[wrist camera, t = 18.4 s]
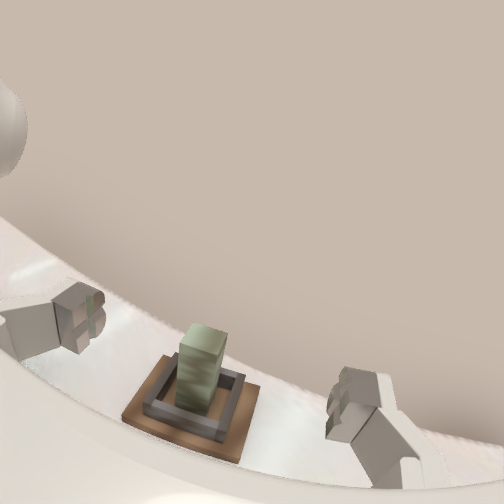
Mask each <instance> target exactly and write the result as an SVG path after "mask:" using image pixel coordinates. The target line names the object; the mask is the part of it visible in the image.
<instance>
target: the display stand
mask: <svg viewBox="0 0 504 504" xmlns="http://www.w3.org/2000/svg"><path fill="white" fill-rule="evenodd" d="M178 356H179V353H177V352H175V353H174V355H173V356H172V358H171V357H169V356H166V355H163V356H162V357H161V359H160V360H159V362H158V363H157V364H156V366H155V367H154V369H153V370H152V371H151V373H150V374H149V376H148V377H147V379H146V380H145V381H144V383H143V384H142V386H141V387H140V389H139V390H138V392H137V393H136V394H135V396H134V397H133V399H132V400H131V402H130V403H129V404H128V406H127V407H126V409H125V410H124V412H123V413H122V415H121V416H122V421H123V422H125V423H127V424H130V425H132V426H134V427H136V428H138V429H141V430H143V431H145V432H148V433H150V434H152V435H155V436H157V437H160V438H162V439H165V440H167V441H170V442H172V443H175V444H178V445H180V446H183V447H186V448H189V449H191V450H194V451H197V452H200V453H203V454H206V455H209V456H212V457H216V458H219V459H222V460H226V461H229V462H233V463H236V464H238V462H239V460H240V457H241V453H242V450H243V447H244V443H245V440H246V436H247V433H248V429H249V426H250V422H251V419H252V415H253V412H254V408H255V404H256V401H257V397H258V394H259V390H260V386H258V385H255V384H251V383H248V382H244V380H245V377H246V375H244V374H241V373H238V372H234V371H231V370H228V369H224V368H221V369H220V374H219V378H218V383H217V388H216V393H215V397H214V399H213V402H212V404H211V407H210V409H209V411H208V414H207V416H206V417H203V416H200V415H197V414H194V413H191V412H188V411H186V410H183V409H180V408H177V407H175V396H176V381H177V368H178Z"/></svg>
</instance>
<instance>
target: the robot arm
mask: <svg viewBox="0 0 504 504" xmlns="http://www.w3.org/2000/svg"><path fill="white" fill-rule="evenodd" d="M26 139H27V117H26V113H25V110H24V107H23V105H22V103H21V101H20V100H19V98H18V97H17V96H16V95H15V94H14V93H13V92H12V91H11V90H10V89H9V88H8V87H7V86H6V85H5V84H4V82H3V81H2V79H1V78H0V178H1V177H4V176H7V175H9V174H10V173H11V171H12V170H13V169H14V168H15V166H16V165H17V163H18V161H19V160H20V157H21V155H22V153H23V150H24V147H25V144H26ZM104 303H105V296H104V293H103V292H102V291H100V290H98V289H96V288H93V287H91V286H89V285H87V284H84V283H82V282H79V281H77V280H75V279H73V278H66V279H64V280H63V281H61V282H60V283H58V284H57V285H55V286H54V287H52V288H50V289H49V290H47V291H46V292H44V293H43V294H41V295H39V294H33V295H27V296H20V297H14V298H8V299H1V300H0V504H504V479H503V480H498V481H493V482H487V483H481V484H474V485H466V486H457V487H451V485H450V480H449V475H448V470H447V465H446V461H445V457H444V456H443V455H442V454H441V453H440V452H439V450H438V449H437V448H436V447H435V446H434V445H433V444H432V443H431V442H430V441H429V440H428V439H427V438H426V436H425V435H424V434H423V433H422V432H421V431H420V430H419V429H418V428H417V427H416V426H415V425H414V424H413V422H411V420H410V419H409V418H408V417H407V416H406V415H405V414H404V413H403V412H402V411H400V410H397V405H396V400H395V395H394V391H393V386H392V382H391V377H390V375H389V374H384V373H378V372H370V371H365V370H360V369H355V368H349V367H344V368H343V369H342V371H341V373H340V375H339V383H337V384H336V385H334V386H333V388H332V390H331V392H330V395H329V398H328V402H327V412H326V413H327V414H328V415H329V419H328V421H327V422H326V437H325V439H328V440H333V441H338V442H344V443H350V445H351V447H352V449H353V451H354V452H355V454H356V456H357V458H358V459H359V461H360V463H361V465H362V466H363V468H364V470H365V471H366V473H367V475H368V477H369V478H370V480H371V482H372V484H373V486H372V487H371V488H358V487H346V486H337V485H328V484H320V483H313V482H307V481H301V480H295V479H289V478H284V477H279V476H274V475H270V474H265V473H261V472H256V471H252V470H248V469H244V468H241V467H237V466H233V465H230V464H226V463H223V462H219V461H216V460H213V459H210V458H206V457H203V456H200V455H197V454H194V453H192V452H189V451H186V450H183V449H180V448H178V447H175V446H172V445H170V444H167V443H165V442H162V441H160V440H157V439H155V438H152V437H150V436H148V435H145V434H143V433H141V432H139V431H136V430H134V429H132V428H130V427H128V426H126V425H123V424H121V423H119V422H117V421H115V420H113V419H111V418H109V417H107V416H105V415H103V414H101V413H100V412H98V411H96V410H94V409H92V408H90V407H88V406H87V405H85V404H83V403H81V402H79V401H78V400H76V399H74V398H73V397H71V396H69V395H67V394H66V393H64V392H63V391H61V390H59V389H58V388H56V387H54V386H53V385H51V384H50V383H48V382H47V381H45V380H44V379H42V378H41V377H39V376H38V375H36V374H35V373H33V372H32V371H30V370H29V369H28V368H26V367H25V366H23V365H22V364H21V363H19V361H22V360H25V359H28V358H30V357H33V356H36V355H39V354H41V353H44V352H47V351H50V350H52V349H55V348H58V347H60V345H61V346H63V347H65V348H67V349H68V350H70V351H72V352H74V353H76V354H78V355H79V354H80V353H81V352H82V351H83V350H84V349H85V348H86V347H87V346H88V345H89V344H90V339H92V338H96V337H97V336H98V335H99V334H100V333H101V332H102V330H103V328H104V326H105V321H106V313H105V311H104V310H103V308H102V306H103V304H104Z"/></svg>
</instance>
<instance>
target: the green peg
mask: <svg viewBox="0 0 504 504" xmlns="http://www.w3.org/2000/svg"><path fill="white" fill-rule="evenodd" d="M227 335H228V333H226V332H223V331H219V330H216V329H213V328H210V327H207V326H204V325H200V324H197V323H194V322H193V324H192V325H191V327H190V328H189V330H188V331H187V333H186V334H185V336H184V337H183V339H182V340H181V342H180V345H179V356H178V368H177V381H176V396H175V407H177V408H180V409H183V410H186V411H188V412H191V413H194V414H197V415H200V416H203V417H206V416H207V414H208V411H209V409H210V407H211V404H212V402H213V399H214V397H215V393H216V388H217V383H218V378H219V374H220V369H221V364H222V359H223V354H224V349H225V345H226V340H227Z"/></svg>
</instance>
